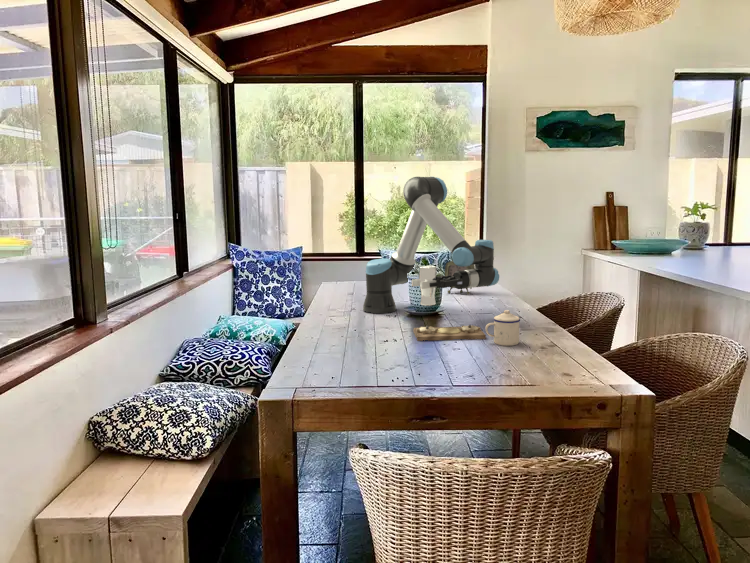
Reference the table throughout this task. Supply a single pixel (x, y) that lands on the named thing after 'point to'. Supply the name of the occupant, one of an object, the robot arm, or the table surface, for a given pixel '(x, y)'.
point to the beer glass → (427, 294)
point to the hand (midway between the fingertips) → (416, 284)
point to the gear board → (449, 333)
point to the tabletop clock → (452, 268)
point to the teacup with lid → (505, 329)
